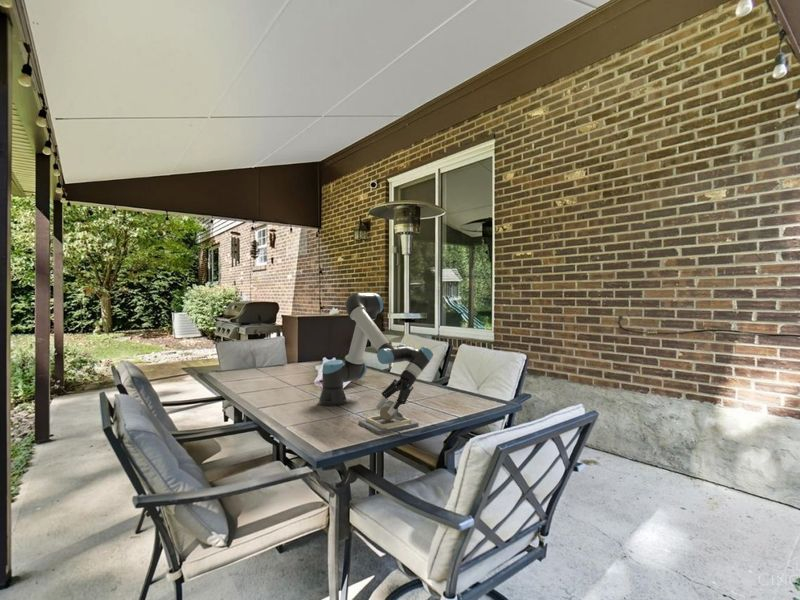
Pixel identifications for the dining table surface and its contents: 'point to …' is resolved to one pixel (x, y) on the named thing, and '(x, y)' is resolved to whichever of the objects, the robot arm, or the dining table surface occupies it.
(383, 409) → the ceramic mug
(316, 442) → the dining table surface
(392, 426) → the charcoal pocket board
